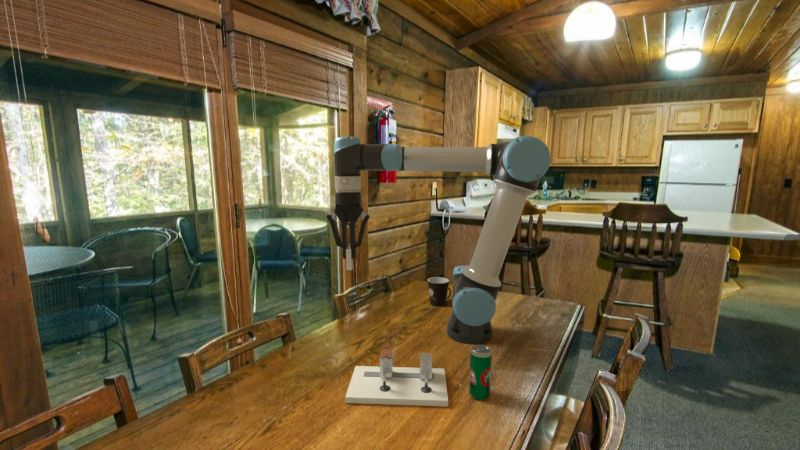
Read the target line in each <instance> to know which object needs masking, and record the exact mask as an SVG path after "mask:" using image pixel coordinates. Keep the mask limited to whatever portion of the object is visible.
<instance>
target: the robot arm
mask: <svg viewBox="0 0 800 450" xmlns="http://www.w3.org/2000/svg"><path fill="white" fill-rule="evenodd" d="M333 144H334V147H333V148H334V151H333V158H334V189H335V193H334V196H335V197H334V199H335V200H334V201H335V202H334V203H335V205H334V208H333V212H331V213H329V214H327V215H326V218H327V221H328V222H329V224H330V227H331V231H332V235H333V238H334V241H335V246H336V247H340V248H341V250H342V258H343V260H345V269H346V271H352V270H353V269H354V264H353V263H354V260H355V259H356V258H357V248H359V247H361V246H362V244H363V240H364V237H365V233H366V227H367V224H368V221H369V220H370V218H371V215H370V214H369V213H368V214H367V213H366V212H365V211H364V209H363V207H362V193H361V191H360V190H361V189H362V179H361V178H362V176H361V171H365V172H366V171H368V172H369V171H373V172H374V171H376V172H378V171H380V172H384V171H386V172H393V171H395V172H401V171H402V172H405V171H407V172H413V171H414V172H457V173H460V172H461V173H462V172H463V173H467V172H468V173H485V174H486V175H487V176H494V177H493V182H494V184H495V187H496V188H495V191H494V194H493V196H492V197H493V198H492V200H491V202H490V206H489V208H488V212H487V215H486V217H485V220H484V223H483V226H482V229H481V231H480V234H479V237H478V240H477V243H476V246H475V249H474V252H473V255H472V257H471V260H470V263H469V265H457V266H455V267H454V268H453V274H452V302H451V303H452V304H451V306H452V309H451V310H452V311H451V313H450V316H449V319H448V321H447V324H446V334H447V336H448V337H449V338H450V339H452V340H453V341H456V342H458V343H462V344H463V343H464V344H470V345H480V344H484V343H487V342H490V341H491V340H492V339H493V337H494V328H493V324H492V322H491V320H492V319H493V317H494V316H495V313H496V308H497V303H496V300H497V298H498V294H499V292H500V289H501V287H502V282H501V280H500V279H499V276H500V273H501V270H502V268H503V265H504V261H505V259H506V257H507V254H508V250H509V249H510V246H511V242H512V240H513V238H514V234H515V232H516V229H517V227H518V223H519V221H520V218H521V215H522V213H523V211H524V210H523V209H524V207H525V204H526V202H527V199H528V198H529V196H532V195H533V194H536V191H537V189H538V186H539V183H540V181H541V179H542V177H543V176H544V175H545V174H546V173H547V171H548V170H549V168H550V164H551V161H552V160H551V158H552V157H551V152H550V149H549V147H548V145H547V144H546V143H545V142H544V141H543V140H541V139H540V138H538V137H536V136H531V135H521V136H517V137H516V138H514V139H512V140H510V141H507V142H501V143H489V144H488V145H487V146H401V145H400V144H398V143H373V144H369V143H368V144H367V143H365V144H364V143H362V142H361V139H360V137H358V136H357V137H356V136H339V137H336V138H334V143H333ZM360 217H361V220H362V221H361V223H360V229H359V233H358V238H357V221H358V220H359V218H360ZM337 218H338V220H339V221H340V223H341V224H340V226H341V235H340V230H339V228H338V227H339V226H338V224H337V223H338V222H337V220H336V219H337ZM348 224H349V228H350V246H349V242H348V241H349V240H348V235H349V234H348ZM348 246H349V247H348Z"/></svg>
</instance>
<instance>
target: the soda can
mask: <svg viewBox="0 0 800 450" xmlns="http://www.w3.org/2000/svg"><path fill="white" fill-rule="evenodd" d="M492 357H493V353H492V351H491V348H490V347H489V346H487V345H484V344H473V346H472V347H471V350H470V352H469V382H468V384H469V385H468V393H469V395H470V396H471V397H472V398H474V399H475V400H477V401H478V400H479V401H484V400H488V398H489V397H490V396H491V387H492V386H491V385H492V384H491V383H492V363H493V362H492V359H493V358H492Z"/></svg>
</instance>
